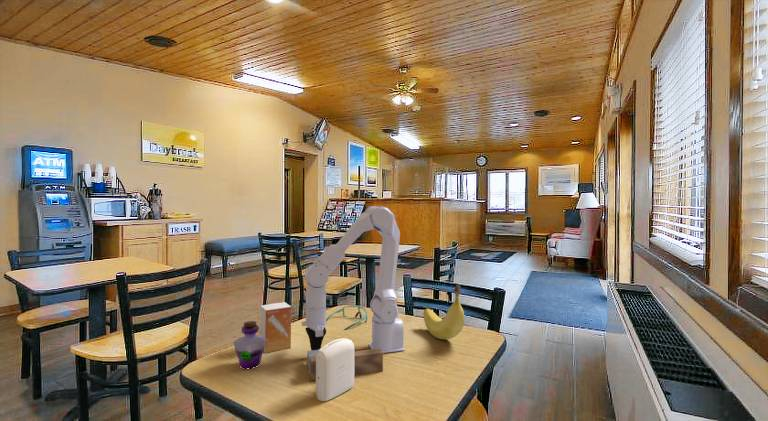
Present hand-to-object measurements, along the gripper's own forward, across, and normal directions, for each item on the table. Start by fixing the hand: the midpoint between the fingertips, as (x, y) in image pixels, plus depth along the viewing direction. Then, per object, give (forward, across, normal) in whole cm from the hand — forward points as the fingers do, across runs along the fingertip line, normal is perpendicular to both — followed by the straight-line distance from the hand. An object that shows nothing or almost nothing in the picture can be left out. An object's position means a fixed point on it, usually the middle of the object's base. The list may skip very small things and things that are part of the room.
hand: (315, 352), depth 110 cm
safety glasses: (+2, -28, +16) cm, 32 cm away
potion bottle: (+1, 0, -18) cm, 18 cm away
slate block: (+2, +8, 0) cm, 8 cm away
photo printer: (+1, +22, +2) cm, 22 cm away
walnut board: (+1, +13, +6) cm, 14 cm away
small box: (+1, -11, -11) cm, 15 cm away
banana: (+1, -3, +42) cm, 42 cm away
